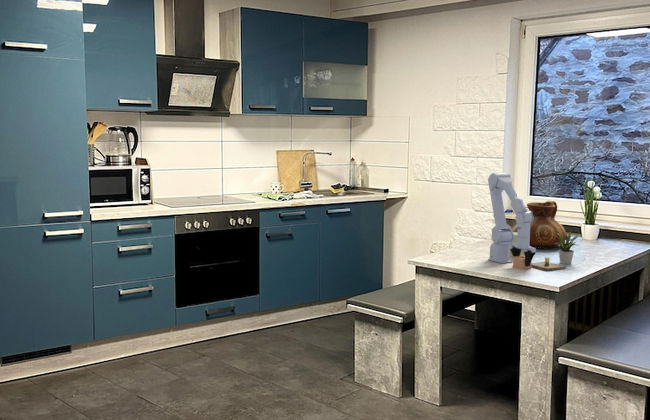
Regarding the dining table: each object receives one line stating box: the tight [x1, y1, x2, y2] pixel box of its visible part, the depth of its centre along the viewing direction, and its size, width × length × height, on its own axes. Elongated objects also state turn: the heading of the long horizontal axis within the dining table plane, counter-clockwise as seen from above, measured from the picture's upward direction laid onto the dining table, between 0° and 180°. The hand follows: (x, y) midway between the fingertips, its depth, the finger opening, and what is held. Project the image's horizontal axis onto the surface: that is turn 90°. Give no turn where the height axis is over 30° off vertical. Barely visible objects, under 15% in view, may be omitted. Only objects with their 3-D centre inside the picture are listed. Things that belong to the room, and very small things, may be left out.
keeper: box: [531, 257, 567, 272], centre depth 315 cm, size 12×12×5 cm
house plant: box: [556, 230, 582, 265], centre depth 324 cm, size 14×14×16 cm
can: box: [509, 232, 527, 258], centre depth 343 cm, size 9×9×12 cm
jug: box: [511, 200, 568, 249], centre depth 370 cm, size 30×30×25 cm
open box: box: [512, 256, 533, 270], centre depth 314 cm, size 6×6×5 cm
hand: (522, 264), depth 315 cm, fingers open, 7 cm apart
